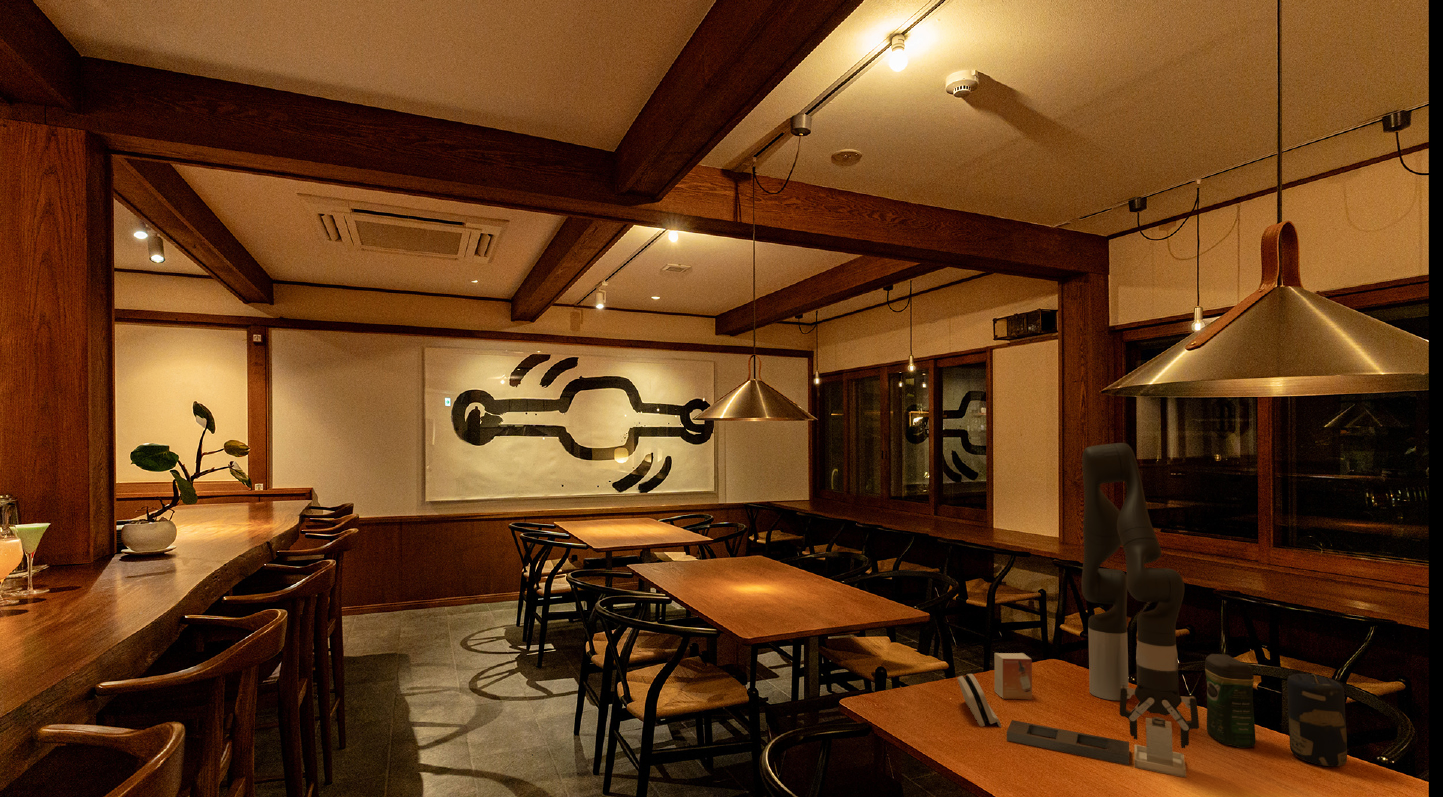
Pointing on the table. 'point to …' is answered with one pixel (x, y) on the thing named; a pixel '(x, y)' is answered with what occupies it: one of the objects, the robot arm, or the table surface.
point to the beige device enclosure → (977, 700)
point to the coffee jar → (1230, 701)
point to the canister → (1317, 719)
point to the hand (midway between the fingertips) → (1158, 742)
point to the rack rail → (1069, 742)
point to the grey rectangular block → (1159, 741)
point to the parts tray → (1176, 770)
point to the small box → (1013, 675)
